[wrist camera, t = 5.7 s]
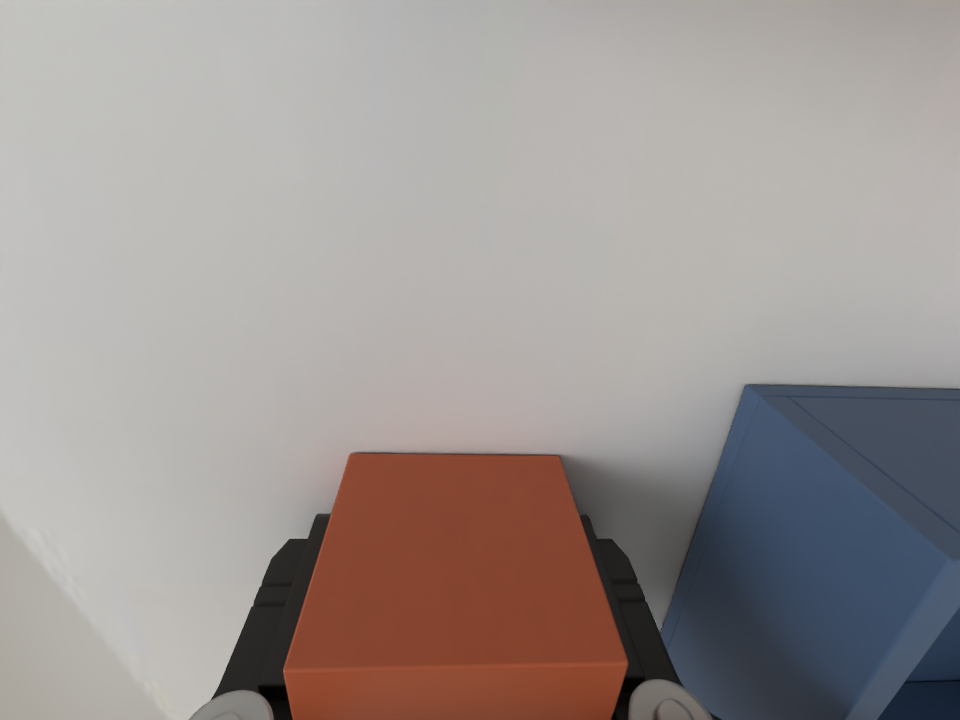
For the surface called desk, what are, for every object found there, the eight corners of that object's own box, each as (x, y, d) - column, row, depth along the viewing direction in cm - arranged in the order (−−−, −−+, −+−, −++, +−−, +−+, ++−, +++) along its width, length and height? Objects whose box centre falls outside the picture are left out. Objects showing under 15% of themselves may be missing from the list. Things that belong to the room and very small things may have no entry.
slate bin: (643, 682, 14) (719, 901, 10) (744, 383, 10) (952, 561, 6) (956, 673, 15) (1142, 873, 11) (1181, 393, 11) (1631, 555, 7)
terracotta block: (360, 598, 12) (314, 838, 8) (349, 452, 10) (281, 671, 6) (537, 596, 12) (579, 825, 8) (559, 454, 10) (630, 664, 6)
